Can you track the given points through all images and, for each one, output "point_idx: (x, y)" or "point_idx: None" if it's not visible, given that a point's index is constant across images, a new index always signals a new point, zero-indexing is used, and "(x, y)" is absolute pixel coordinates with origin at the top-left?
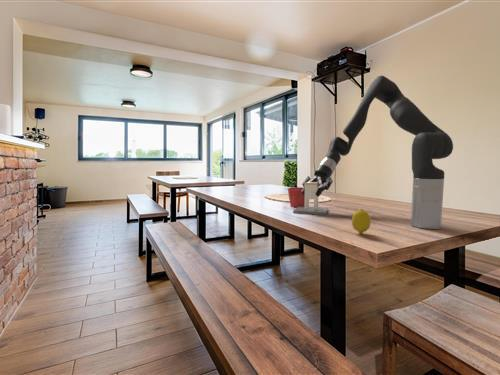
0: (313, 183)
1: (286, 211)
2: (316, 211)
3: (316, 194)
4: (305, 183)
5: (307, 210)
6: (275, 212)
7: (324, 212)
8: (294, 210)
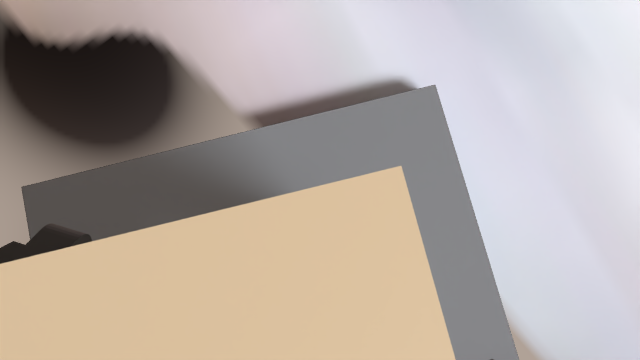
0: (36, 262)
1: (556, 151)
2: (141, 188)
3: (68, 232)
4: (371, 180)
5: (275, 192)
6: (622, 8)
7: (28, 185)
8: (418, 89)
